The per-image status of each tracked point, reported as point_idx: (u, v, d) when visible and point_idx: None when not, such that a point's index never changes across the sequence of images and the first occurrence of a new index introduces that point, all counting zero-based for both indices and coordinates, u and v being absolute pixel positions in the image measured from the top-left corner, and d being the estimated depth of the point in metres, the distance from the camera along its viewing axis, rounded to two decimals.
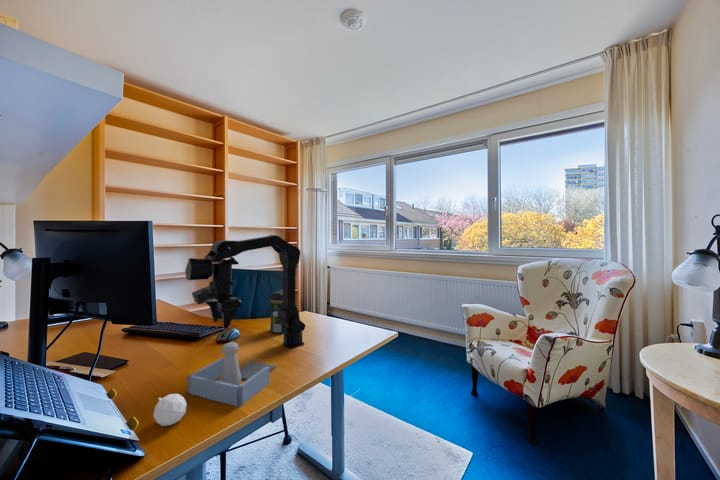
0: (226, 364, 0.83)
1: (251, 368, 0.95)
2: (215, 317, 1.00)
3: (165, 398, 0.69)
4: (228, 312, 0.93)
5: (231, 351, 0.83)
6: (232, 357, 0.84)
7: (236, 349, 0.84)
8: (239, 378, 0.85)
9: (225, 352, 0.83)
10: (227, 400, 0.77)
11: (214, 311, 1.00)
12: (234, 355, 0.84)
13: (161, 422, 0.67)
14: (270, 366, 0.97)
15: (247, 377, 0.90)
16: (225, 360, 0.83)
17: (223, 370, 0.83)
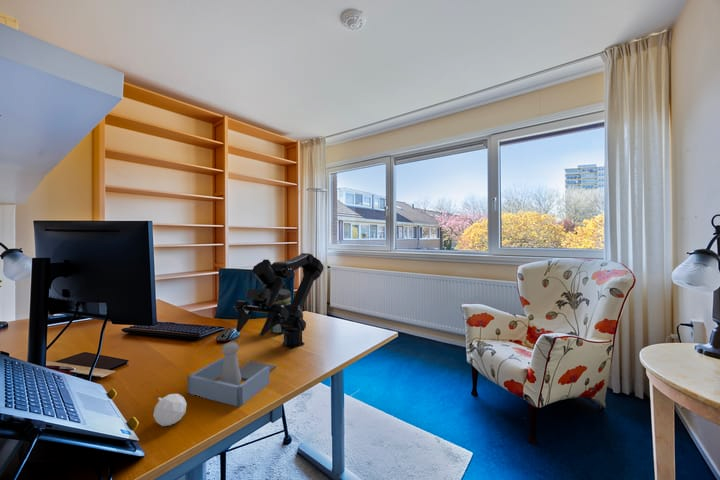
0: (227, 364, 0.83)
1: (251, 368, 0.95)
2: (239, 327, 0.95)
3: (165, 398, 0.69)
4: (272, 320, 0.94)
5: (231, 351, 0.83)
6: (232, 357, 0.84)
7: (236, 349, 0.84)
8: (239, 378, 0.85)
9: (225, 352, 0.83)
10: (227, 400, 0.77)
11: (241, 321, 0.96)
12: (234, 355, 0.84)
13: (161, 422, 0.67)
14: (270, 366, 0.97)
15: (247, 377, 0.90)
16: (225, 360, 0.83)
17: (223, 370, 0.83)
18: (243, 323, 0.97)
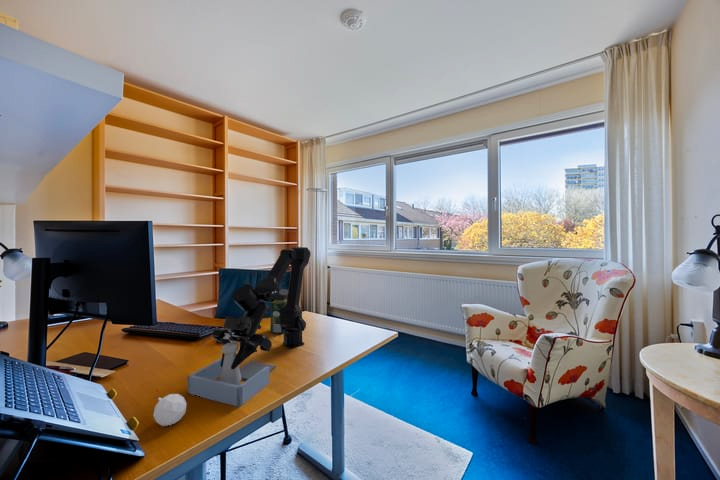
0: (226, 363, 0.83)
1: (251, 368, 0.95)
2: None
3: (165, 398, 0.69)
4: (245, 351, 0.86)
5: (231, 351, 0.83)
6: (232, 357, 0.84)
7: (236, 349, 0.84)
8: (239, 378, 0.85)
9: (225, 352, 0.83)
10: (227, 400, 0.77)
11: None
12: (234, 355, 0.84)
13: (161, 422, 0.67)
14: (270, 366, 0.97)
15: (247, 377, 0.90)
16: (225, 360, 0.83)
17: (223, 370, 0.83)
18: None
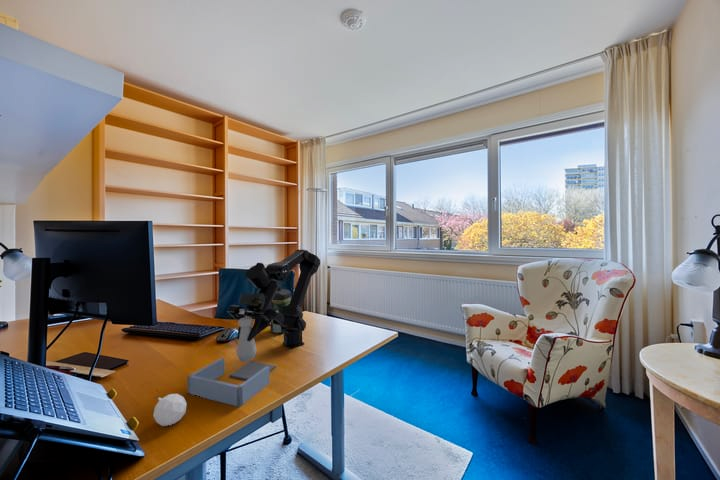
0: (243, 336, 0.89)
1: (251, 368, 0.95)
2: None
3: (165, 398, 0.69)
4: (259, 325, 0.92)
5: (247, 324, 0.89)
6: (248, 330, 0.90)
7: (251, 323, 0.90)
8: (254, 350, 0.91)
9: (241, 325, 0.89)
10: (227, 400, 0.77)
11: None
12: (249, 328, 0.90)
13: (161, 422, 0.67)
14: (270, 366, 0.97)
15: (247, 377, 0.90)
16: (241, 333, 0.89)
17: (240, 342, 0.89)
18: None
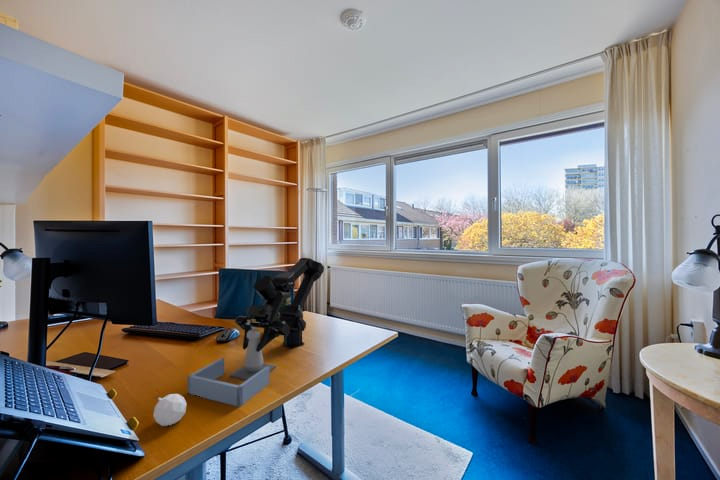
0: (251, 348, 0.93)
1: None
2: (246, 343, 0.95)
3: (165, 398, 0.69)
4: (268, 336, 0.95)
5: (255, 336, 0.92)
6: (256, 342, 0.93)
7: (259, 335, 0.94)
8: (262, 361, 0.94)
9: (249, 337, 0.92)
10: (227, 400, 0.77)
11: None
12: (257, 340, 0.94)
13: (161, 422, 0.67)
14: (270, 366, 0.97)
15: (247, 377, 0.90)
16: (249, 345, 0.93)
17: (248, 353, 0.93)
18: None
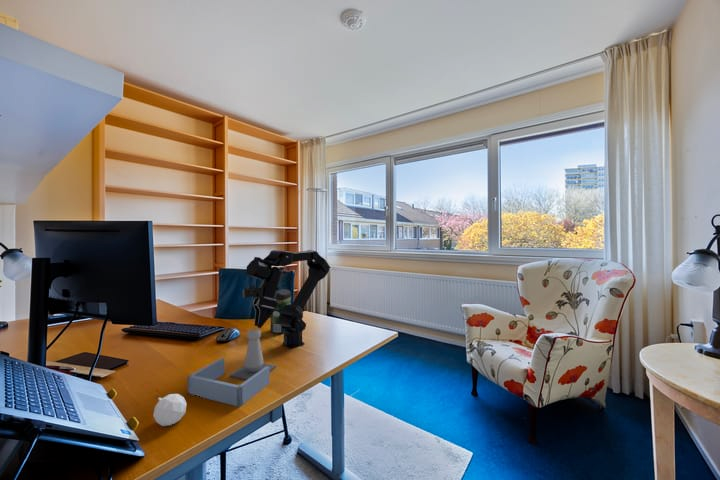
0: (251, 348, 0.93)
1: None
2: (256, 321, 1.06)
3: (165, 398, 0.69)
4: (265, 312, 0.98)
5: (255, 336, 0.93)
6: (256, 342, 0.93)
7: (259, 335, 0.94)
8: (262, 361, 0.94)
9: (249, 337, 0.92)
10: (227, 400, 0.77)
11: (258, 315, 1.07)
12: (257, 340, 0.94)
13: (161, 422, 0.67)
14: (270, 366, 0.97)
15: (247, 377, 0.90)
16: (249, 344, 0.93)
17: (248, 353, 0.93)
18: None
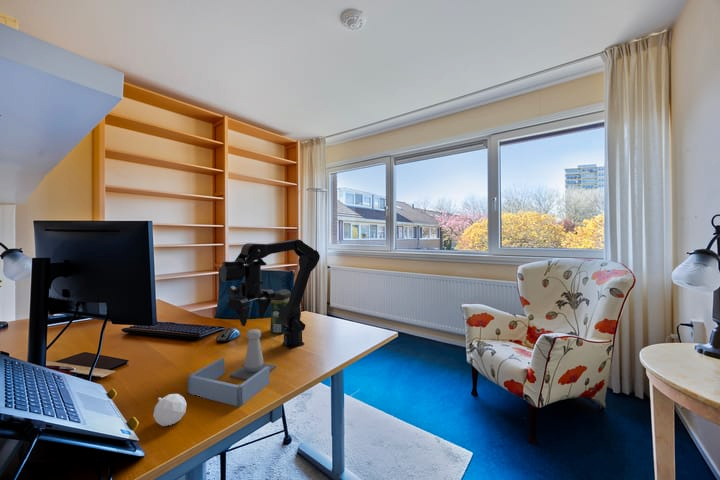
0: (251, 348, 0.93)
1: None
2: (260, 313, 1.09)
3: (165, 398, 0.69)
4: (241, 311, 0.99)
5: (255, 336, 0.93)
6: (256, 342, 0.93)
7: (259, 335, 0.94)
8: (262, 361, 0.94)
9: (249, 337, 0.92)
10: (227, 400, 0.77)
11: (260, 308, 1.09)
12: (257, 340, 0.94)
13: (161, 422, 0.67)
14: (270, 366, 0.97)
15: (247, 377, 0.90)
16: (249, 344, 0.93)
17: (248, 353, 0.93)
18: (262, 309, 1.09)
